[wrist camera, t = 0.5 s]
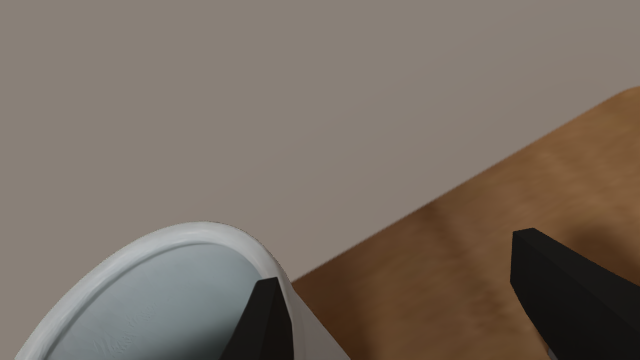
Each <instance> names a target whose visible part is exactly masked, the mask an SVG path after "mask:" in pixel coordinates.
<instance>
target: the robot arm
mask: <svg viewBox="0 0 640 360" xmlns="http://www.w3.org/2000/svg"><path fill="white" fill-rule="evenodd" d="M510 283H511V285H512V287H513V289H514V291H515V293H516V295H517V297H518V299H519V301H520V303H521V305H522V307H523V309H524V310H525V312H526V314H527V315H528V317H529V318H530V320H531V321H532V323H533V324H534V326H535V327H536V329H537V330H538V332H539V333H540V335H541V336H542V337H543V339H544V340H545V342H546V343H547V345H548V346H549V348H550V349H551V350H552V352H553V353H554V355H555V356H556V358H557V359H558V360H640V287H639V286H637V285H635V284H633V283H631V282H629V281H627V280H625V279H623V278H621V277H620V276H618V275H616V274H614V273H612V272H610V271H608V270H606V269H605V268H603V267H601V266H599V265H597V264H595V263H594V262H592V261H590V260H588V259H587V258H585V257H583V256H581V255H580V254H578V253H576V252H574V251H573V250H571V249H569V248H568V247H566V246H564V245H562V244H561V243H559V242H557V241H556V240H554V239H552V238H551V237H549V236H547V235H545V234H544V233H542V232H540V231H538V230H536V229H535V228H529V229H524V230H519V231H513V238H512V256H511V274H510ZM218 360H294V344H293V331H292V322H291V319H290V315H289V312H288V309H287V306H286V303H285V299H284V296H283V293H282V290H281V287H280V283H279V280H278V277H272V278H267V279H262V280H258V281H257V282H256V283H255V285H254V288H253V290H252V293H251V295H250V298H249V300H248V302H247V304H246V307H245V309H244V311H243V313H242V315H241V318H240V320H239V322H238V324H237V326H236V328H235V330H234V332H233V334H232V336H231V338H230V340H229V341H228V343H227V345H226V347H225V349H224V350H223V352H222V354H221V356H220V357H219V359H218Z"/></svg>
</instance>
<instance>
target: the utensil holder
mask: <svg viewBox="0 0 640 360" xmlns="http://www.w3.org/2000/svg"><path fill="white" fill-rule="evenodd" d="M272 277H278V280H279V283H280V287H281V290H282V293H283V296H284V299H285V303H286V306H287V309H288V312H289V315H290V319H291V322H292V331H293V344H294V360H351V359H350V358H349V357H348V355H347V354H346V353H345V352H344V350H343V349H342V348H341V347H340V346H339V344H338V343H337V342H336V341H335V339H334V338H333V337H332V336H331V335H330V333H329V332H328V331H327V330H326V329H325V327H324V326H323V325H322V324H321V323H320V321H319V320H318V319H317V318H316V316H315V315H314V314H313V313H312V311H311V310H310V309H309V308H308V307H307V305H306V304H305V303H304V302H303V301H302V299H301V298H300V297H299V296H298V295H297V293H296V292H295V291H294V290H293V287H292V285H291V283H290V281H289V279H288V277H287V275H286V273H285V272H284V270H283V269H282V267H281V266H280V264H279V263H278V262H277V260H276V259H275V258H274V257H273V256H272V254H271V253H270V252H269V251H268V250H267V249H266V248H265V247H264V246H263V245H262V244H261V243H260V242H259V241H258V240H257V239H255V238H254V237H252V236H251V235H249V234H248V233H246V232H245V231H243V230H241V229H238V228H236V227H233V226H230V225H227V224H223V223H219V222H210V221H194V222H185V223H180V224H176V225H172V226H169V227H165V228H162V229H159V230H156V231H154V232H152V233H149V234H147V235H145V236H143V237H141V238H139V239H137V240H135V241H133V242H131V243H130V244H128V245H126V246H125V247H123V248H121V249H120V250H118V251H117V252H115V253H114V254H112V255H111V256H109V257H108V258H107V259H105V260H104V261H103V262H101V263H100V264H99V265H98V266H96V267H95V268H94V269H93V270H91V271H90V272H89V273H88V274H87V275H86V276H85V277H83V278H82V279H81V280H80V281H79V282H78V283H77V284H75V285H74V286H73V287H72V288H71V289H70V290H69V291H68V292H67V293H66V294H65V295H64V296H63V297H62V298H61V299H60V300H59V301H58V302H57V304H56V305H55V306H54V307H53V308H52V309H51V310H50V311H49V313H48V314H47V315H46V316H45V317H44V319H43V320H42V321H41V322H40V323H39V324H38V326H37V327H36V328H35V330H34V331H33V333H32V334H31V335H30V337H29V338H28V339H27V341H26V342H25V344H24V345H23V347H22V348H21V350H20V351H19V353H18V354H17V356H16V357H15V359H14V360H218V359H219V357H220V356H221V354H222V352H223V350H224V349H225V347H226V345H227V343H228V341H229V340H230V338H231V336H232V334H233V332H234V330H235V328H236V326H237V324H238V322H239V320H240V318H241V315H242V313H243V311H244V309H245V307H246V304H247V302H248V300H249V298H250V295H251V293H252V290H253V288H254V285H255V283H256V282H257V281H258V280H262V279H267V278H272Z"/></svg>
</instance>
